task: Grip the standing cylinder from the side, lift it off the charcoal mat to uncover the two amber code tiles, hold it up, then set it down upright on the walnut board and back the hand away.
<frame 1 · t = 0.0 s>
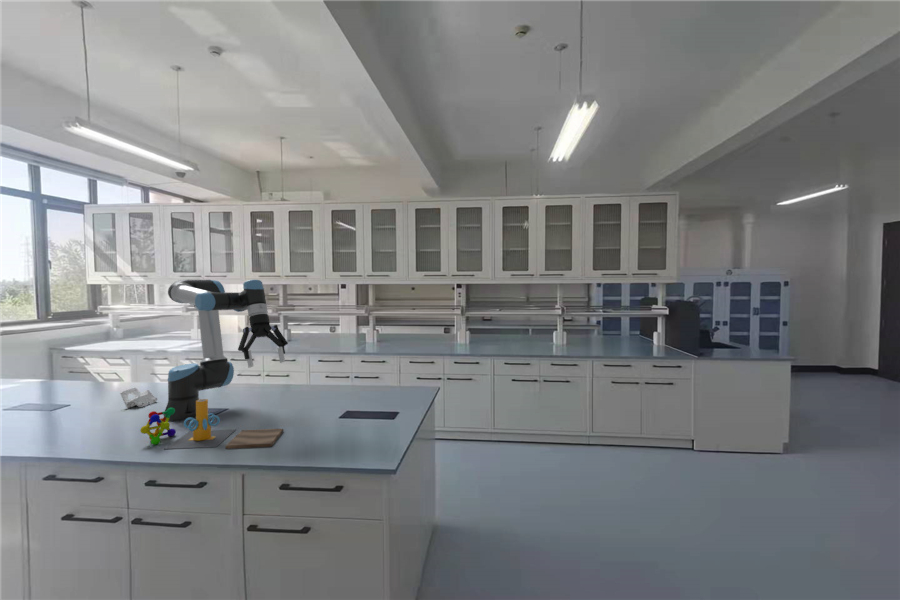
hand: (267, 364, 162), 28 cm above the countertop, tool tilted 20°, fingers open, 13 cm apart
cylinder: (202, 438, 153), on the countertop, touching code mat
code mat: (202, 439, 153), on the countertop
target board: (256, 439, 153), on the countertop
mounting bracket: (139, 405, 197), on the countertop
molecular model: (159, 440, 152), on the countertop
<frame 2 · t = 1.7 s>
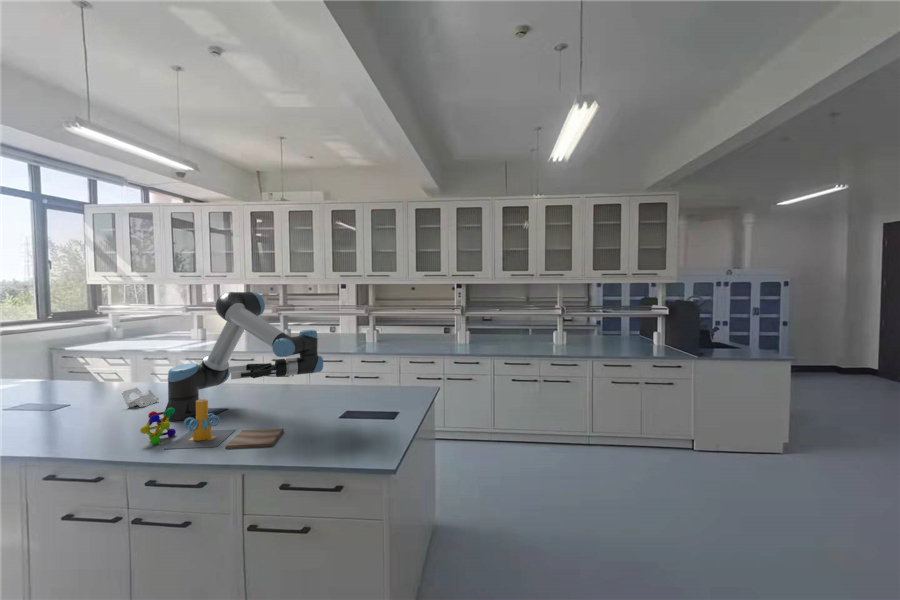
hand: (229, 372, 158), 25 cm above the countertop, tool horizontal, fingers open, 13 cm apart
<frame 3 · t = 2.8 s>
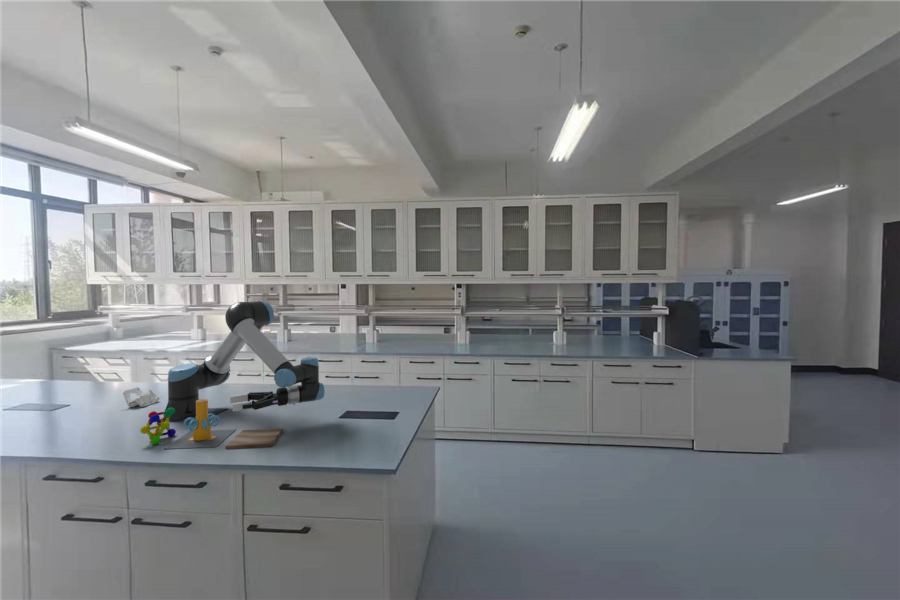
hand: (231, 403, 158), 13 cm above the countertop, tool horizontal, fingers open, 13 cm apart
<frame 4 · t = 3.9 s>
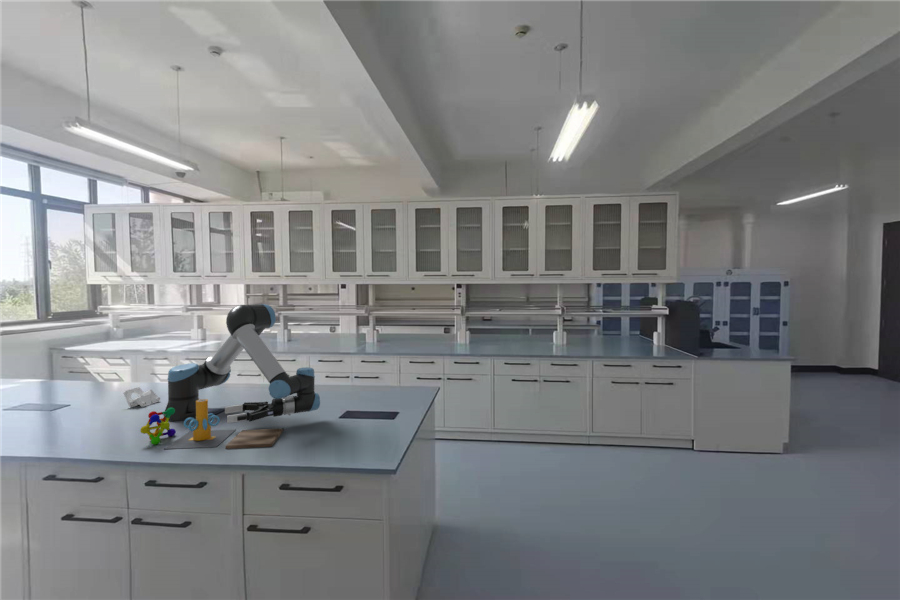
hand: (226, 414, 157), 8 cm above the countertop, tool horizontal, fingers open, 13 cm apart
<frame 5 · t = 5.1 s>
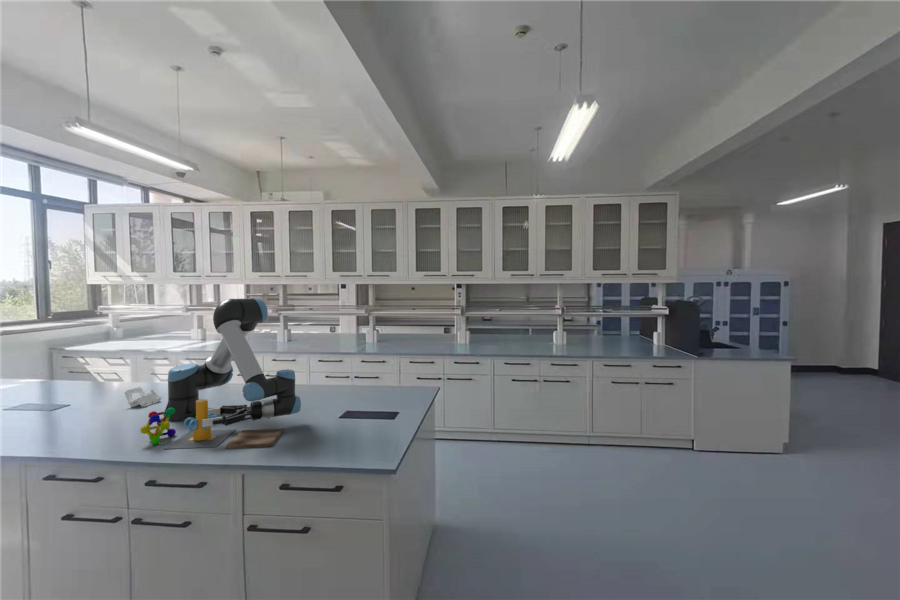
hand: (201, 418, 153), 8 cm above the countertop, tool horizontal, fingers open, 13 cm apart
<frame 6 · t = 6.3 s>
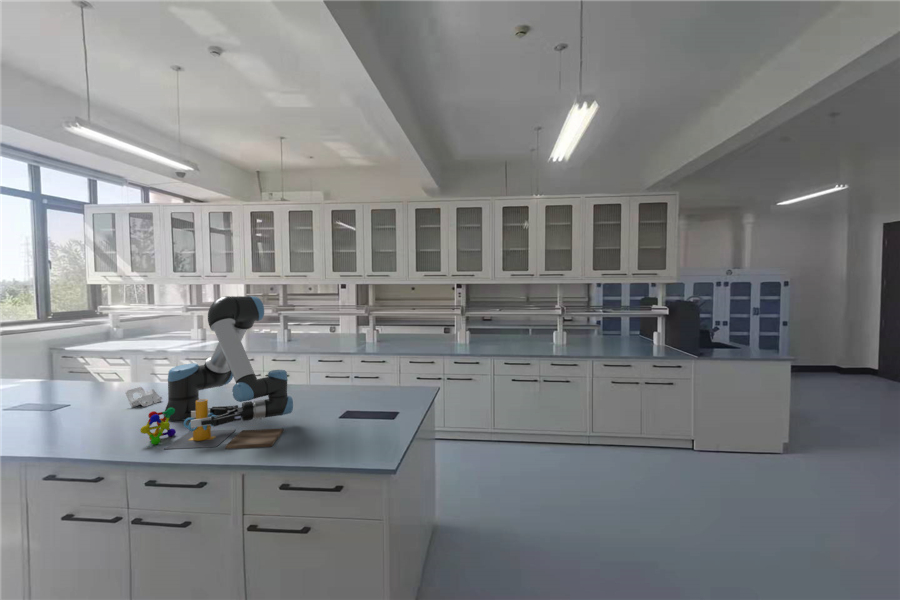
hand: (190, 419, 151), 8 cm above the countertop, tool horizontal, fingers closed on cylinder, 12 cm apart
cylinder: (202, 438, 153), on the countertop, touching code mat, gripper
when the fingers open (10 cm above the countertop, at t = 14.5 s): cylinder drops 1 cm, resting on target board.
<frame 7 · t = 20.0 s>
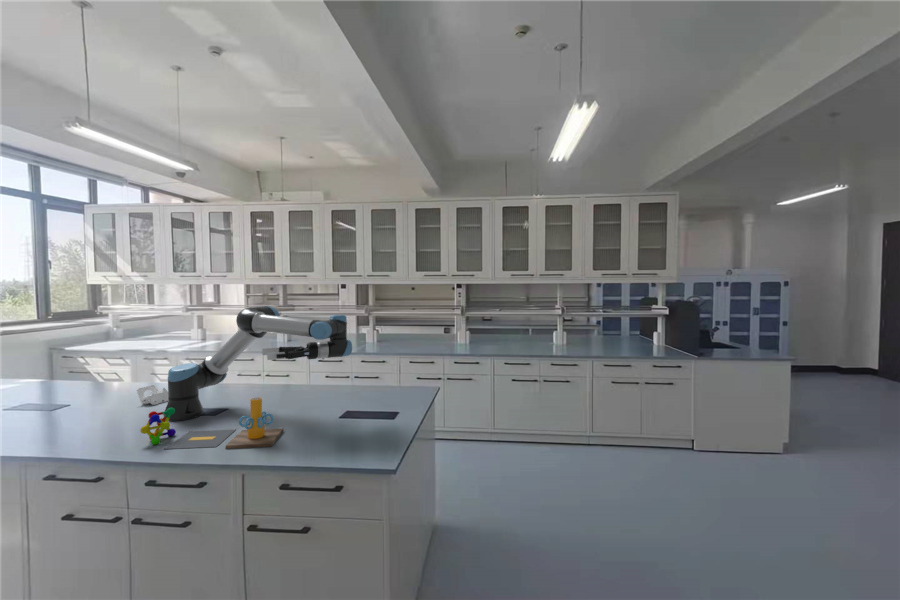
hand: (264, 354, 163), 32 cm above the countertop, tool horizontal, fingers open, 13 cm apart
cylinder: (256, 437, 153), point 1 cm above the countertop, touching target board
mounting bracket: (155, 402, 202), on the countertop
everything else where it was.
at the end: cylinder inside the target area on the target board (0.3 cm from its centre), point 1.0 cm above the target board's base; cylinder tilted 0°; the gripper is holding nothing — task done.
